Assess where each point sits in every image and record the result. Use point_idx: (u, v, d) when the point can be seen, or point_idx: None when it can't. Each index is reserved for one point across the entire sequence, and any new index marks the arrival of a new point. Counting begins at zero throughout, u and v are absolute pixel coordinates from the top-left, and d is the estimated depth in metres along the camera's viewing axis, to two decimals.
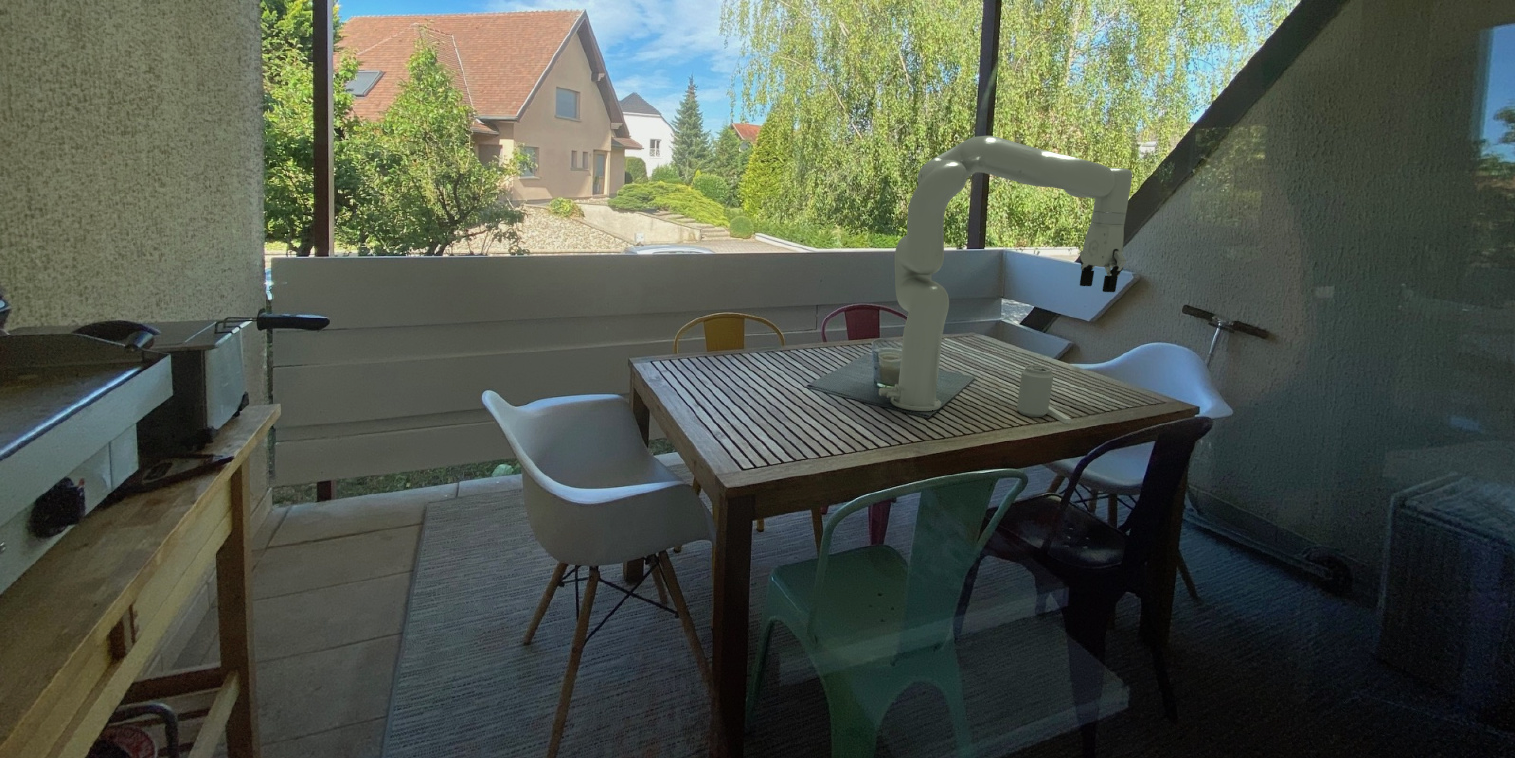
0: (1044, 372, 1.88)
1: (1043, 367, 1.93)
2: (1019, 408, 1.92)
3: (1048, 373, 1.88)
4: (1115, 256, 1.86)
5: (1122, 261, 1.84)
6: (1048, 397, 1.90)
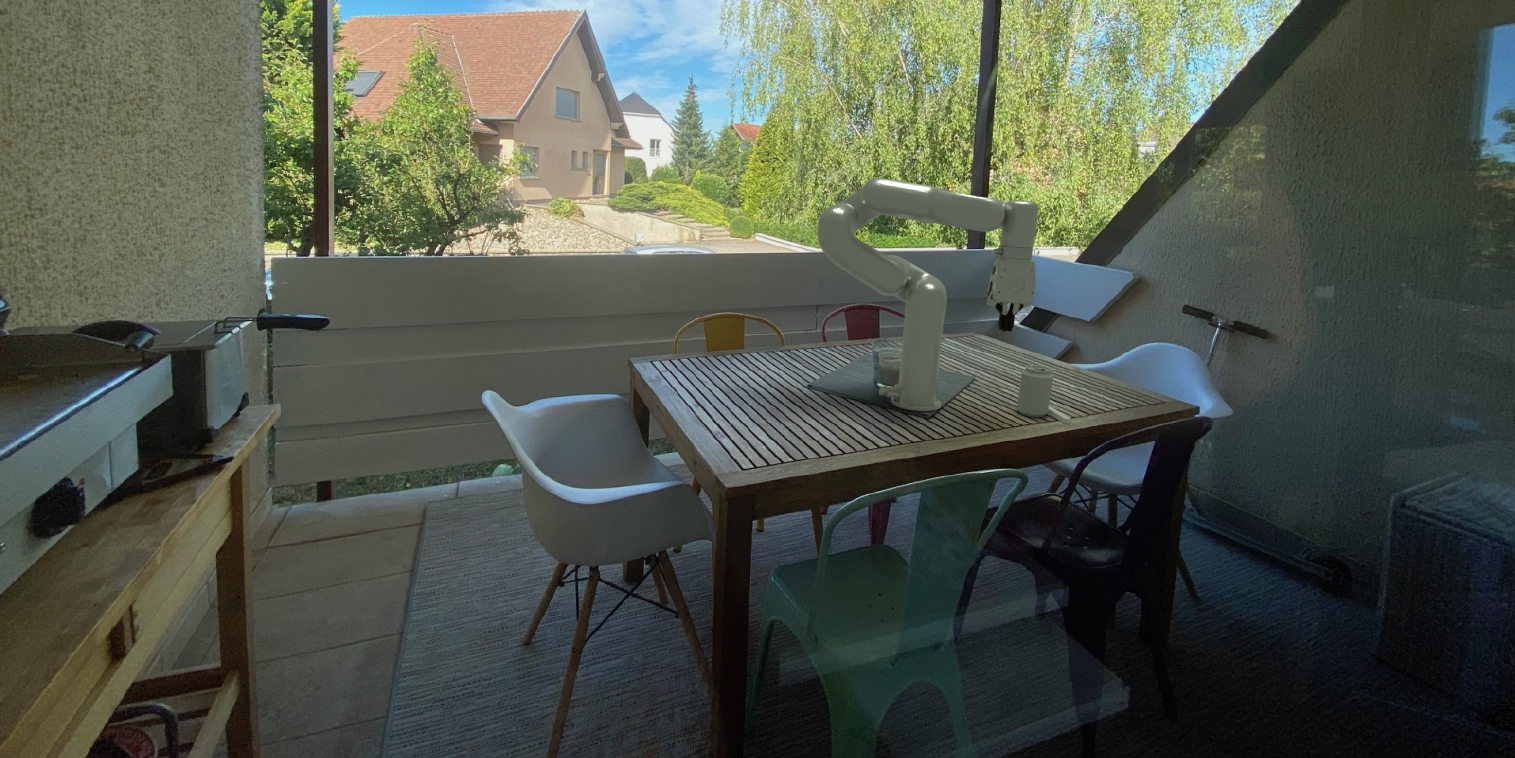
0: (1044, 372, 1.88)
1: (1043, 367, 1.93)
2: (1019, 408, 1.92)
3: (1048, 373, 1.88)
4: None
5: None
6: (1048, 397, 1.90)
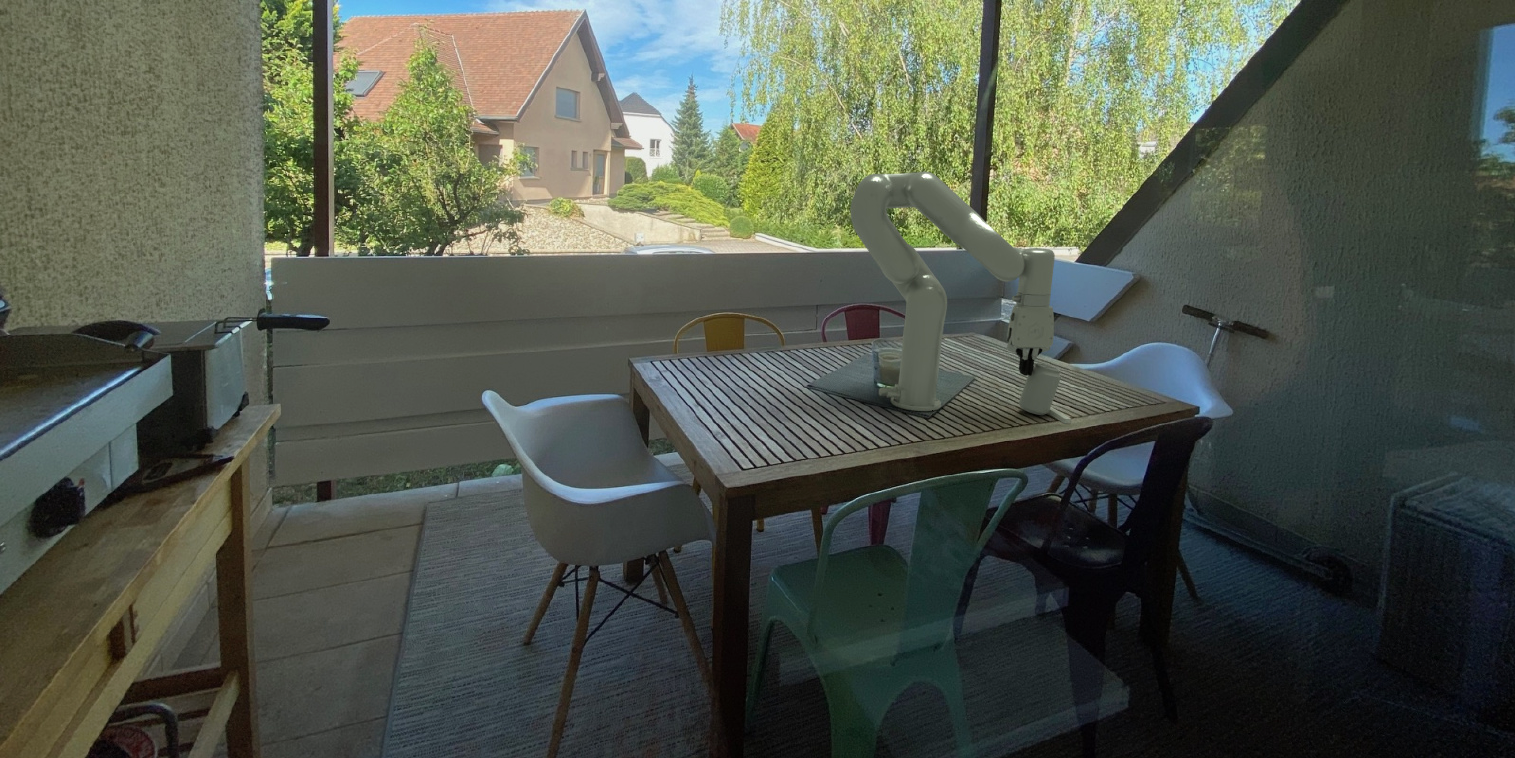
0: (1053, 371, 1.88)
1: (1052, 367, 1.93)
2: (1021, 403, 1.92)
3: (1057, 373, 1.88)
4: None
5: None
6: (1052, 397, 1.90)
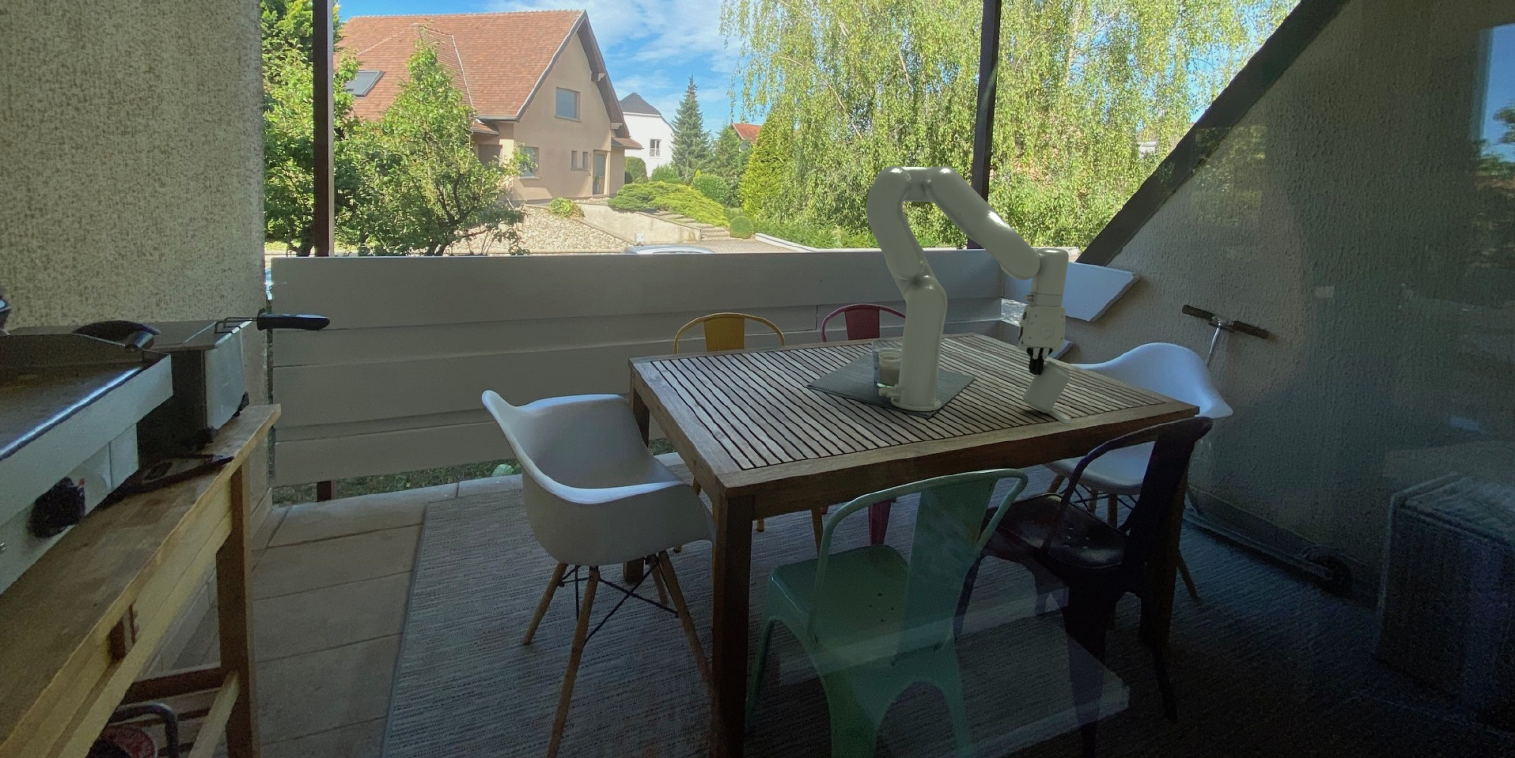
0: (1065, 370, 1.89)
1: None
2: (1026, 396, 1.92)
3: (1067, 373, 1.89)
4: None
5: None
6: (1057, 396, 1.90)
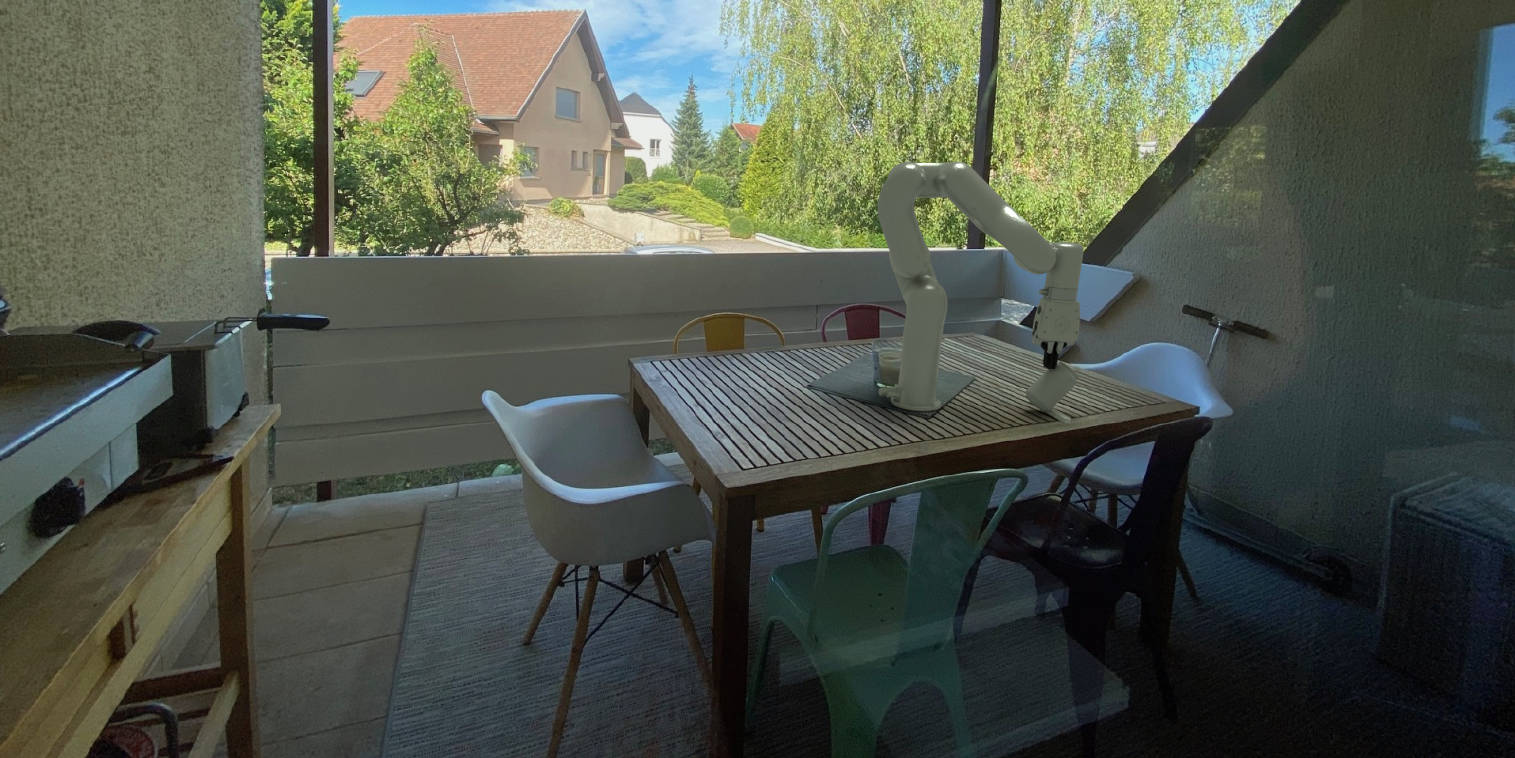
0: (1074, 373, 1.90)
1: None
2: (1030, 390, 1.92)
3: (1075, 377, 1.90)
4: None
5: None
6: (1060, 397, 1.90)
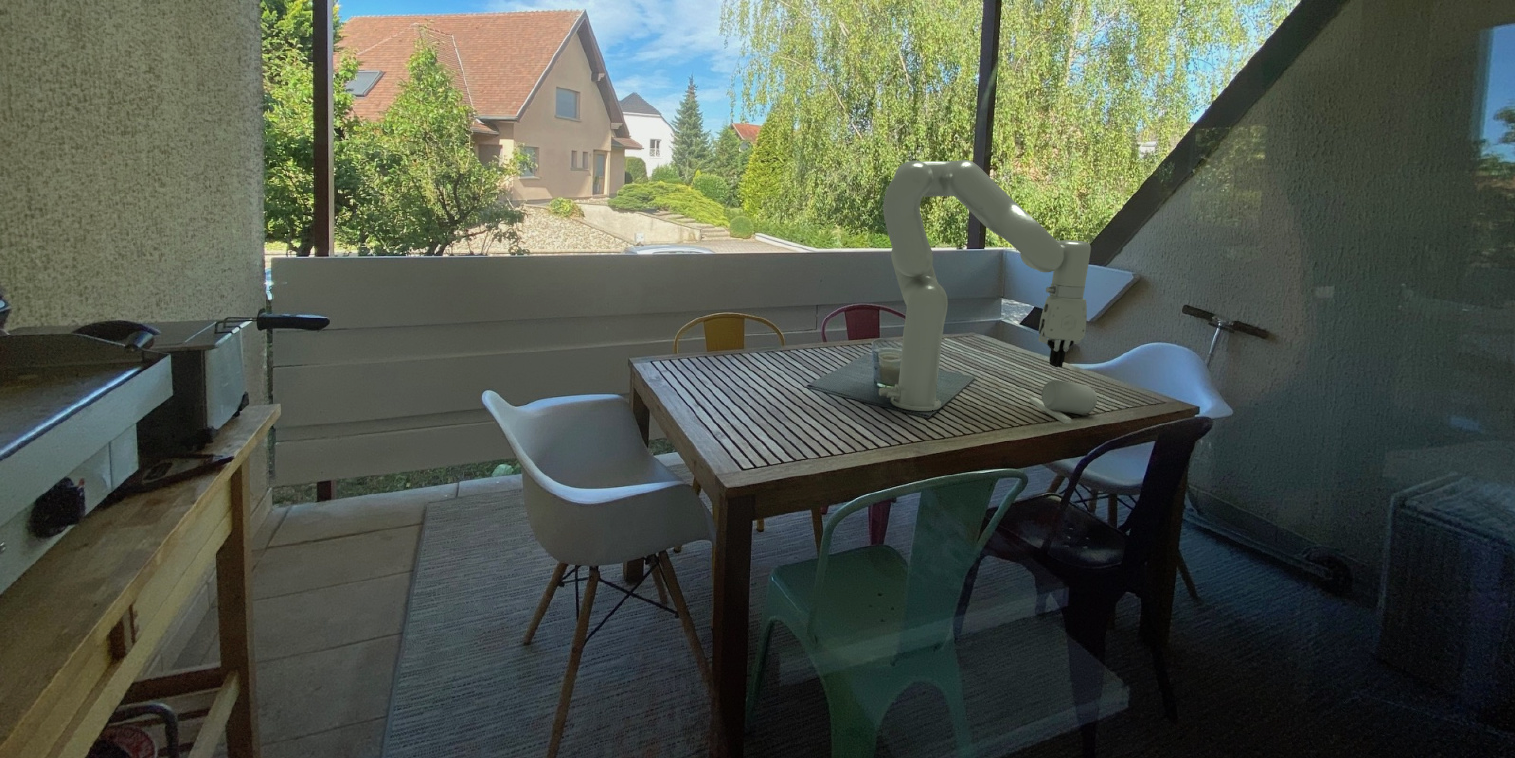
0: (1094, 406, 1.92)
1: None
2: (1060, 382, 1.90)
3: (1090, 410, 1.93)
4: None
5: None
6: (1069, 409, 1.91)
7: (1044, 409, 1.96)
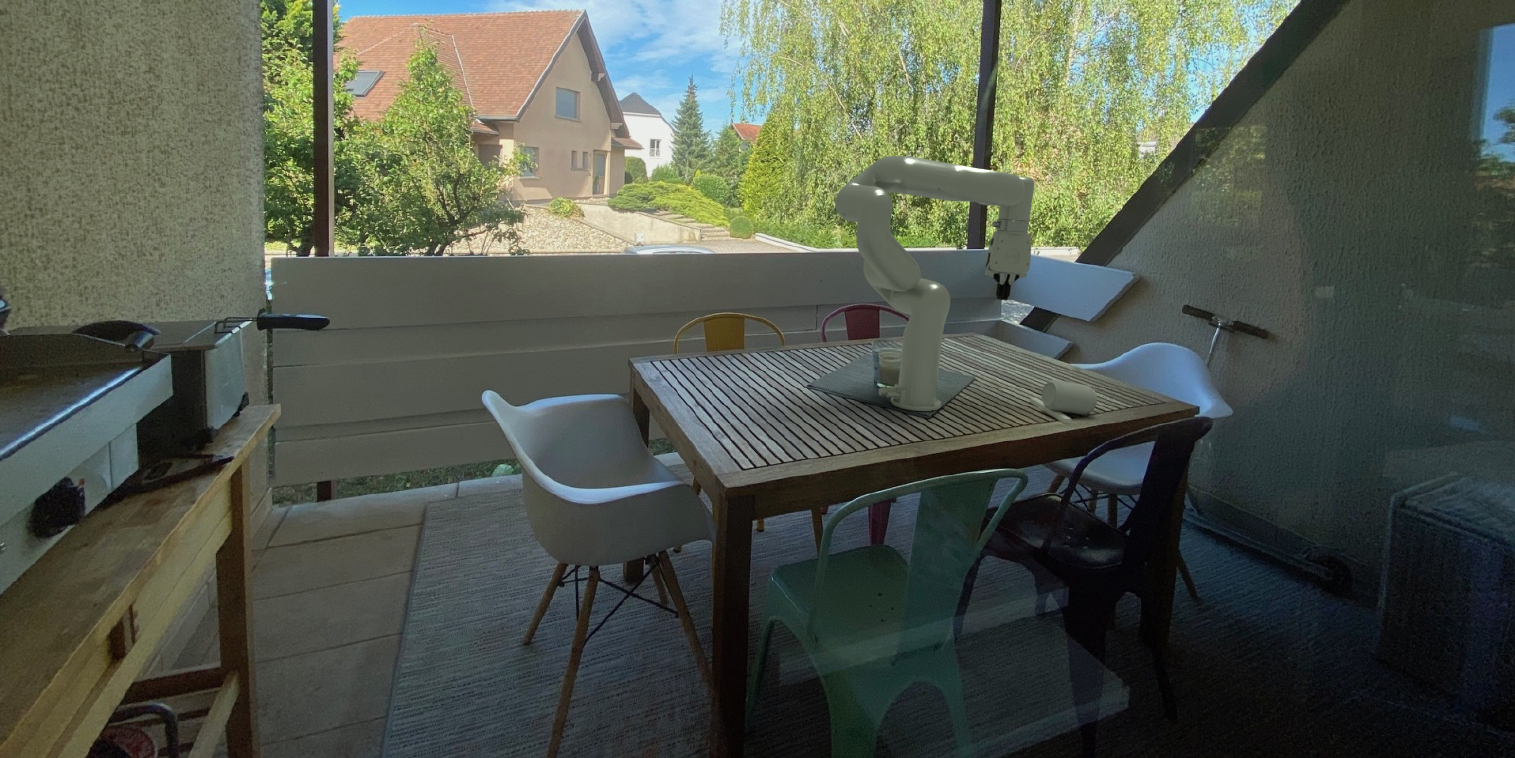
0: (1094, 406, 1.92)
1: None
2: (1060, 382, 1.90)
3: (1090, 410, 1.93)
4: None
5: (1025, 276, 1.97)
6: (1069, 409, 1.91)
7: (1044, 409, 1.96)
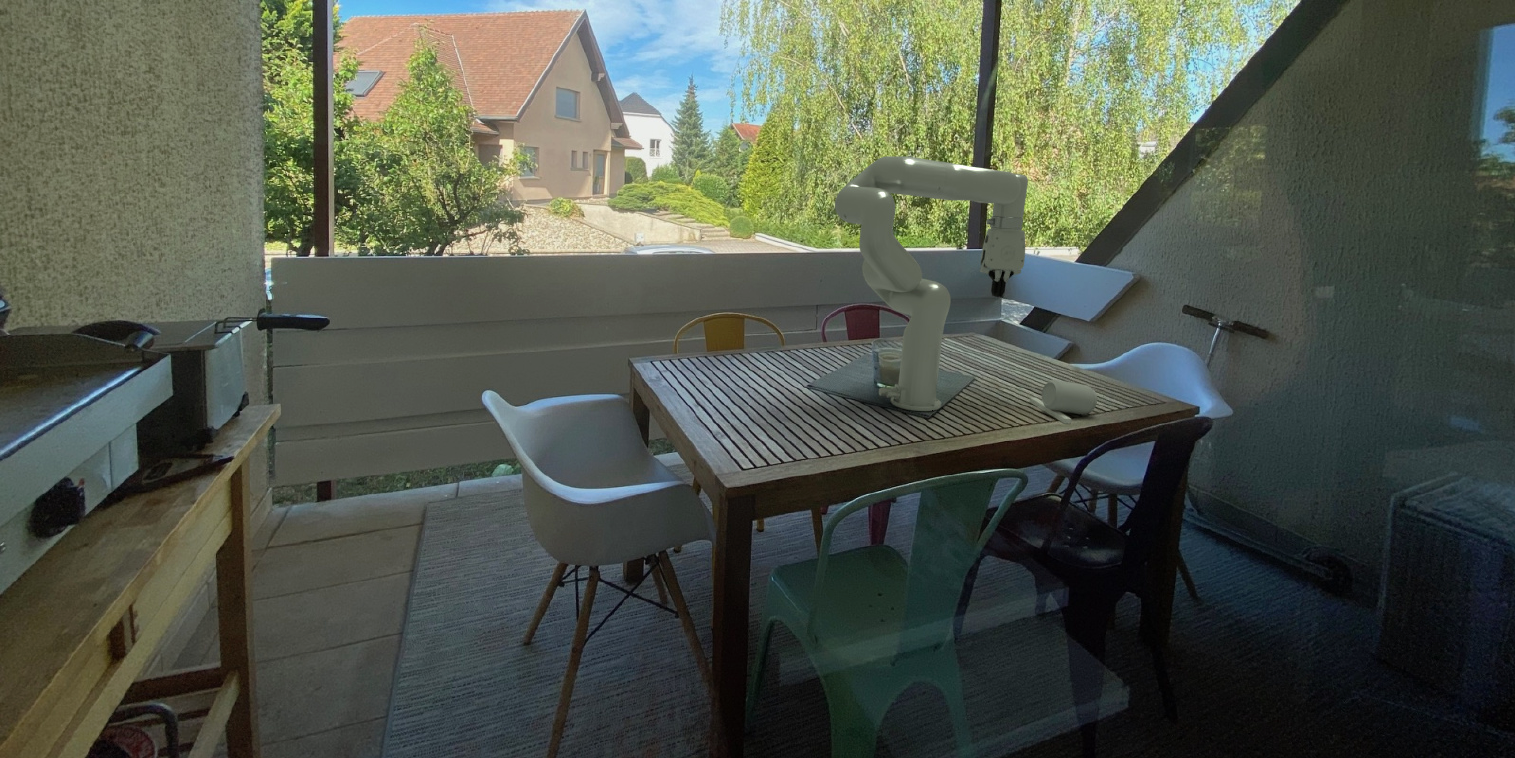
0: (1094, 406, 1.92)
1: None
2: (1060, 382, 1.90)
3: (1090, 410, 1.93)
4: None
5: None
6: (1069, 409, 1.91)
7: (1044, 409, 1.96)
